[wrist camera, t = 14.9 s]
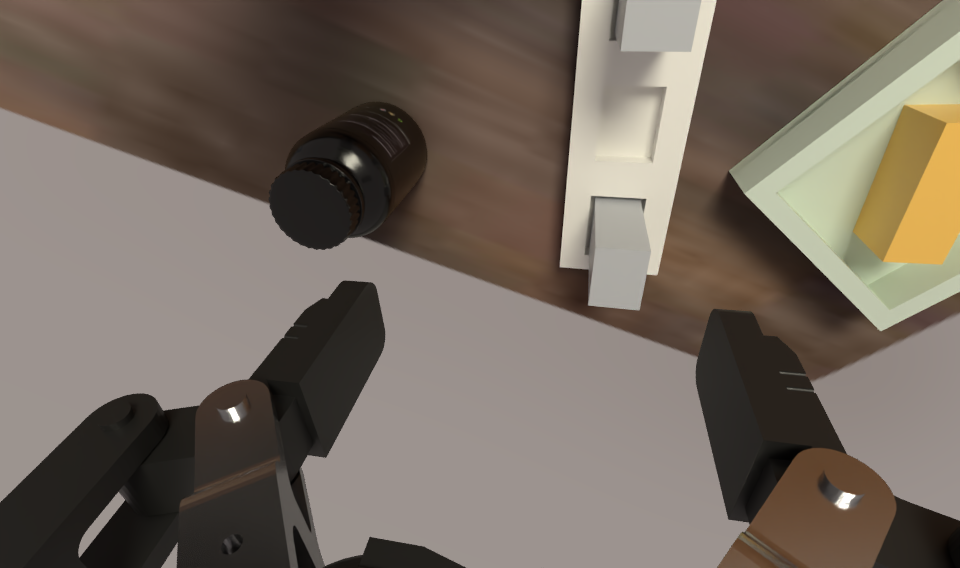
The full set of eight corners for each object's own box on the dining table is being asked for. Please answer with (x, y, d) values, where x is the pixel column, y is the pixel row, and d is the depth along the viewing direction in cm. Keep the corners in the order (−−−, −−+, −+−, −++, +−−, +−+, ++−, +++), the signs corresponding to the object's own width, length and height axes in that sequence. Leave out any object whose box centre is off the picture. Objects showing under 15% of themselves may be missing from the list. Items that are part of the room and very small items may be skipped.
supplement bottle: (409, 205, 38) (345, 287, 28) (332, 162, 37) (238, 230, 27) (445, 129, 34) (385, 193, 24) (359, 79, 33) (261, 124, 24)
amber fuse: (852, 231, 31) (904, 104, 27) (905, 233, 31) (966, 104, 27) (882, 261, 28) (946, 123, 24) (942, 264, 28) (1018, 122, 23)
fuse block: (589, -83, 26) (589, -87, 24) (726, -88, 25) (736, -93, 23) (561, 252, 38) (559, 267, 36) (654, 260, 36) (657, 275, 35)
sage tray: (972, -24, 24) (1031, -23, 21) (1103, 158, 28) (1173, 184, 24) (728, 170, 32) (744, 193, 29) (853, 297, 35) (880, 331, 32)
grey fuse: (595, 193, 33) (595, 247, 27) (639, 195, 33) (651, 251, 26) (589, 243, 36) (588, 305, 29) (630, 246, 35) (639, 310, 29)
